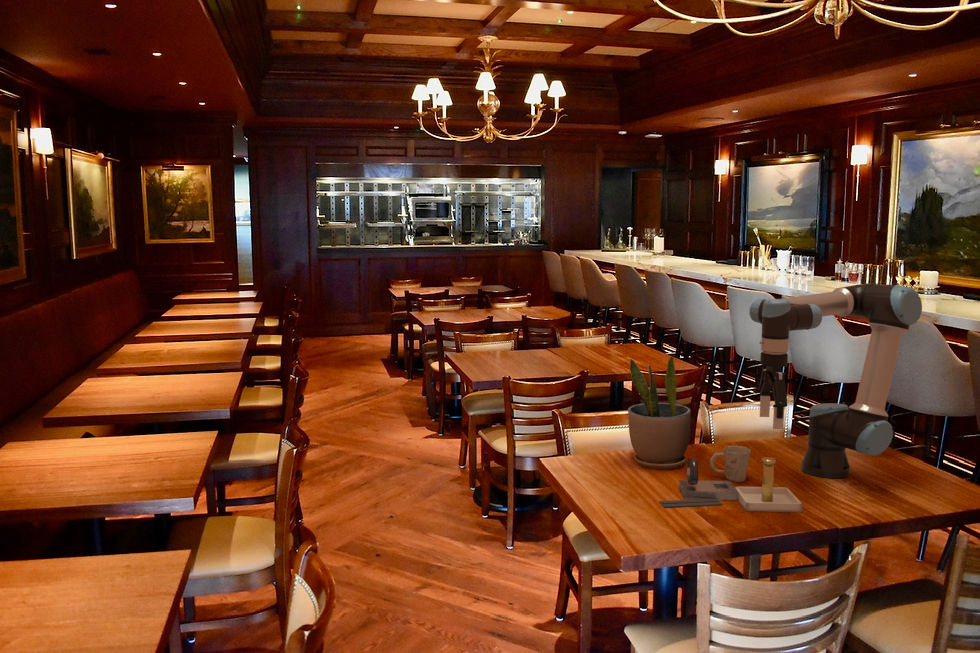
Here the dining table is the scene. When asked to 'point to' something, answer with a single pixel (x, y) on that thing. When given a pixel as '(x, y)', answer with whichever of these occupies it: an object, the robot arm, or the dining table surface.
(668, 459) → the potted plant
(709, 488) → the block
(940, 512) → the dining table surface
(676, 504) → the pair of grey strips
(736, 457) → the mug
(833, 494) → the dining table surface
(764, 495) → the pin
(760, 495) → the tray
